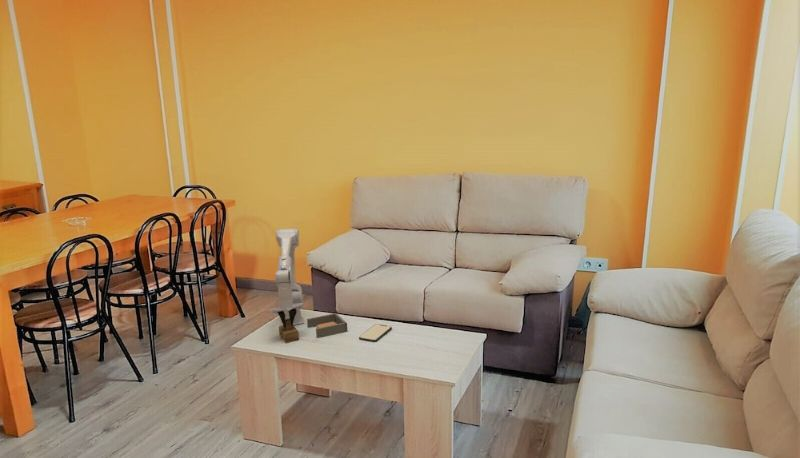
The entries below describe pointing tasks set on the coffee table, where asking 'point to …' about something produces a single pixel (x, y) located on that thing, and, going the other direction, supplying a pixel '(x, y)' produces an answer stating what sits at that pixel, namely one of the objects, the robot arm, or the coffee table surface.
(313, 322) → the frame
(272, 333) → the coffee table surface
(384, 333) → the phone case
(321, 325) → the tile
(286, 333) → the pusher
